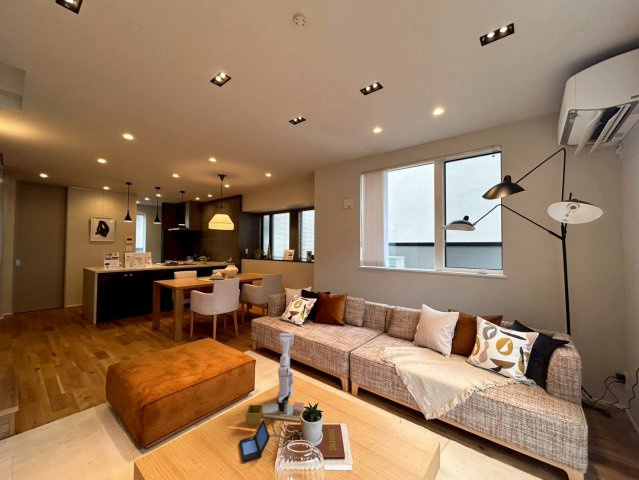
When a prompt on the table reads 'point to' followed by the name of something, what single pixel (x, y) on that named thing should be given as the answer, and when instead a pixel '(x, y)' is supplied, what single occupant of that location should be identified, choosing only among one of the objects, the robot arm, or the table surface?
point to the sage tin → (286, 408)
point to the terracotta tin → (298, 408)
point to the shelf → (272, 412)
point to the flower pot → (253, 414)
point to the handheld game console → (254, 444)
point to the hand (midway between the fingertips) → (283, 407)
